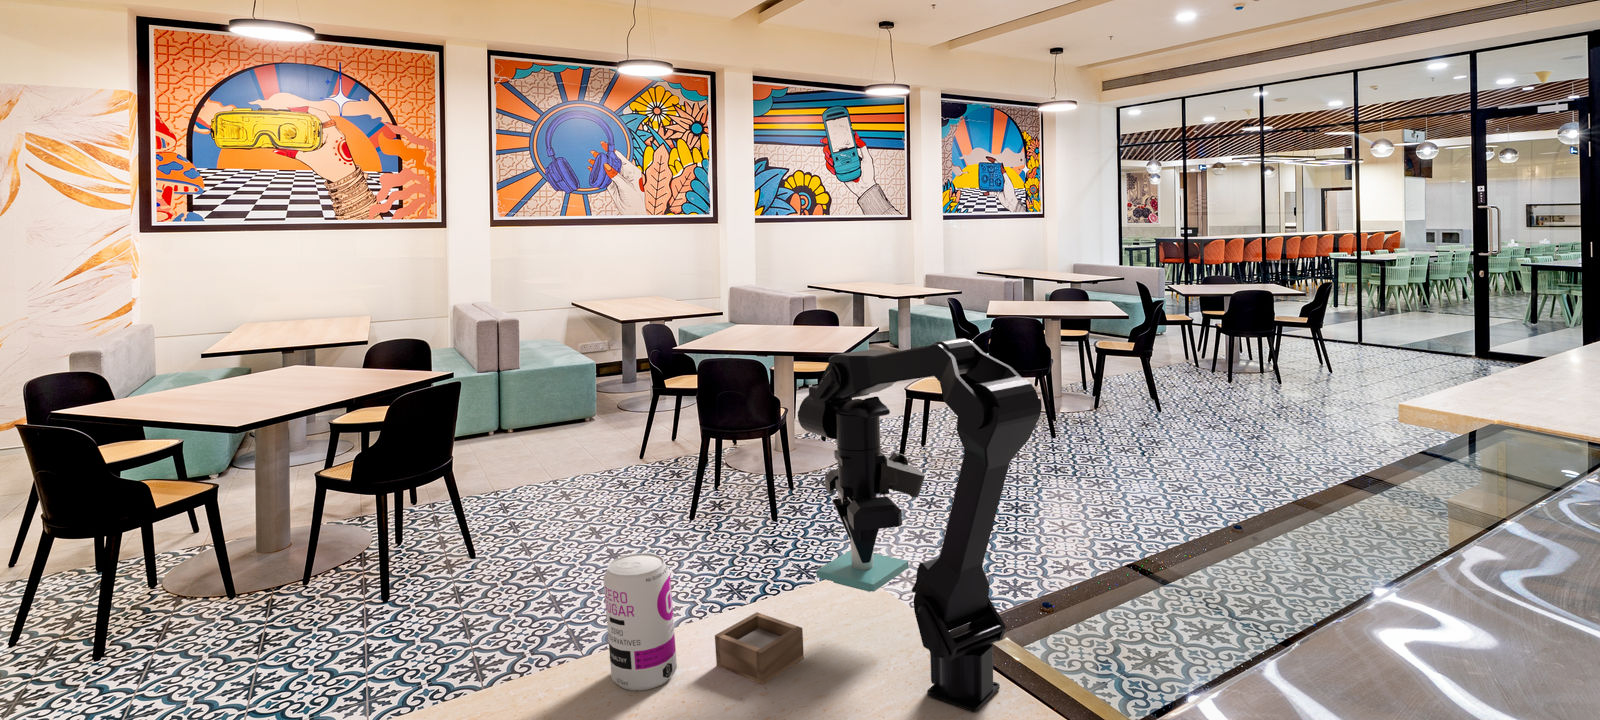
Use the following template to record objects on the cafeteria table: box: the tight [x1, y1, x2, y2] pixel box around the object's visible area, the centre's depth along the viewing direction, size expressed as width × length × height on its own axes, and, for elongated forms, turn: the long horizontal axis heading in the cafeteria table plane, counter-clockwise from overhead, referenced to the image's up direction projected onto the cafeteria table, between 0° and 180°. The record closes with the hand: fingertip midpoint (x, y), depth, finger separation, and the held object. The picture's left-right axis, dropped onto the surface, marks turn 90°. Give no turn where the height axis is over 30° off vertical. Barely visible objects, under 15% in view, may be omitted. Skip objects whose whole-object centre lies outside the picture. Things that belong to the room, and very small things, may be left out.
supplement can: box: [603, 552, 678, 691], centre depth 108 cm, size 8×8×15 cm
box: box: [714, 611, 805, 686], centre depth 111 cm, size 8×8×4 cm
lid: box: [815, 538, 910, 593], centre depth 116 cm, size 9×9×6 cm
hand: (862, 557), depth 116 cm, fingers closed on lid, 3 cm apart
